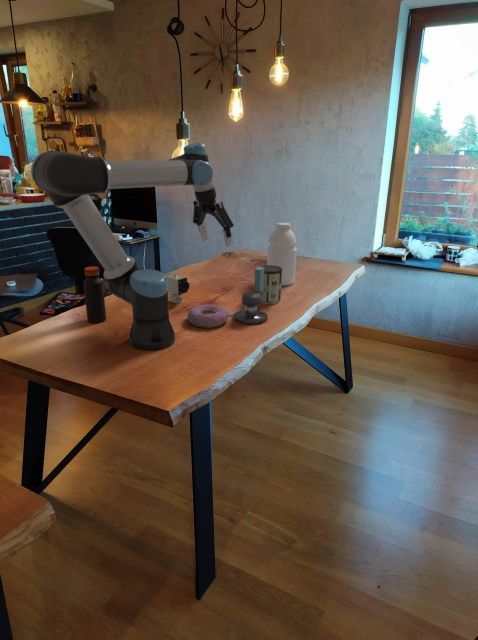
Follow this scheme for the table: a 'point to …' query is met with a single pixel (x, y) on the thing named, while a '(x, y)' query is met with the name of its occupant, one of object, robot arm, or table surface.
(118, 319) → the table surface
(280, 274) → the coffee can
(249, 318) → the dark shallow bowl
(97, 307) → the bottle
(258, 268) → the teal grey l-shaped block
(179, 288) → the security camera
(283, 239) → the bottle
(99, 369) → the table surface
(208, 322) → the donut
